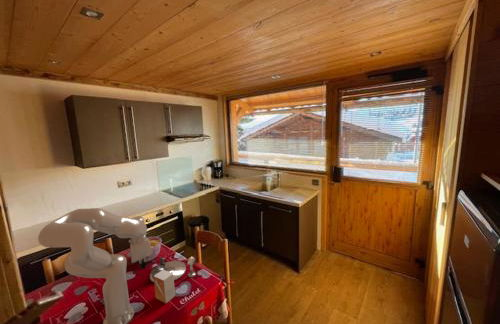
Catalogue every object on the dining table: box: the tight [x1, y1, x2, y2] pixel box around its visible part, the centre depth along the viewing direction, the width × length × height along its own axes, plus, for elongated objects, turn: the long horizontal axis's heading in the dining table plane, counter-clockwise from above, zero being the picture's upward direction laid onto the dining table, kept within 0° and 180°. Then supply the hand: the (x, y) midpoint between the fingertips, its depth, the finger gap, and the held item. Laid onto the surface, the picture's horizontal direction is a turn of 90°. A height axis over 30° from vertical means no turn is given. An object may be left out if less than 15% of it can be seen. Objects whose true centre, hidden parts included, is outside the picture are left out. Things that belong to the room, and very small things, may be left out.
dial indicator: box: [187, 256, 197, 278], centre depth 131 cm, size 4×4×12 cm
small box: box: [153, 270, 176, 304], centre depth 113 cm, size 8×6×13 cm
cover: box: [151, 264, 164, 279], centre depth 130 cm, size 7×7×5 cm
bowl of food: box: [141, 236, 162, 263], centre depth 151 cm, size 20×20×12 cm
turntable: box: [149, 256, 187, 283], centre depth 134 cm, size 21×21×6 cm
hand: (143, 268), depth 124 cm, fingers closed
